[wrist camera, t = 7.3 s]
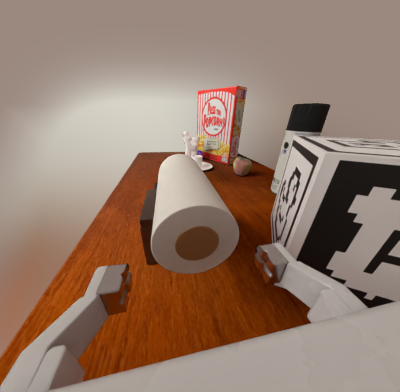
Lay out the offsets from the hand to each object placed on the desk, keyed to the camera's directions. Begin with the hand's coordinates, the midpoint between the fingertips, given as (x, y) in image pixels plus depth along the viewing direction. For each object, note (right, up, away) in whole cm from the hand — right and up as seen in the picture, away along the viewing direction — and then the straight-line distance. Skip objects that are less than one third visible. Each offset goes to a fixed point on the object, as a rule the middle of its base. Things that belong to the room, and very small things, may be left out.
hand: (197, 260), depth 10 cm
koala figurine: (-4, +20, +59) cm, 62 cm away
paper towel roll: (-2, +4, +8) cm, 9 cm away
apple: (+14, +11, +43) cm, 46 cm away
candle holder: (-1, +15, +49) cm, 52 cm away
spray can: (+22, +5, +31) cm, 39 cm away
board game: (+7, +21, +62) cm, 66 cm away
